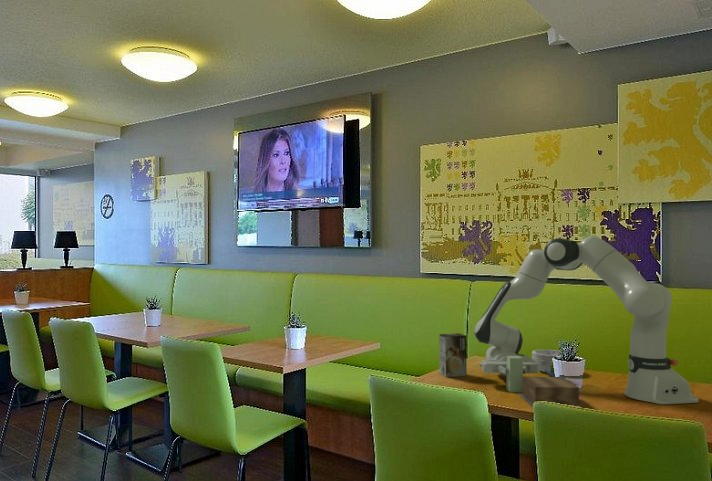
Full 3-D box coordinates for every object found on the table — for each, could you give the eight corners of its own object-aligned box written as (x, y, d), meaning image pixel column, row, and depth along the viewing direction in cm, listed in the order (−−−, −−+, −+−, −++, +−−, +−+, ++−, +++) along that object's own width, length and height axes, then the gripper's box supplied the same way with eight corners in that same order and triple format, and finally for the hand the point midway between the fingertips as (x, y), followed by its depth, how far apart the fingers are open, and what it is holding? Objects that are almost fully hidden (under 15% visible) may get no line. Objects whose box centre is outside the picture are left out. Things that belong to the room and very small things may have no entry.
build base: (564, 394, 196) (564, 376, 196) (583, 408, 180) (583, 388, 180) (518, 394, 196) (518, 376, 196) (533, 407, 180) (533, 387, 180)
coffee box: (459, 372, 229) (460, 332, 229) (466, 376, 222) (467, 335, 222) (438, 373, 226) (439, 333, 226) (445, 377, 220) (445, 336, 220)
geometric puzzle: (570, 378, 212) (564, 358, 217) (553, 378, 211) (547, 358, 216) (562, 385, 217) (556, 366, 222) (546, 386, 216) (540, 366, 221)
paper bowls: (565, 367, 239) (565, 349, 239) (575, 376, 224) (575, 356, 224) (528, 366, 241) (528, 348, 241) (536, 375, 226) (536, 355, 226)
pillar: (518, 389, 204) (519, 355, 204) (522, 392, 199) (522, 358, 199) (506, 388, 204) (506, 355, 204) (509, 392, 199) (510, 358, 199)
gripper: (477, 354, 214) (486, 362, 200) (531, 355, 214) (543, 362, 201) (477, 371, 214) (486, 380, 200) (531, 371, 214) (543, 380, 201)
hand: (515, 371), depth 201 cm, fingers open, 5 cm apart
